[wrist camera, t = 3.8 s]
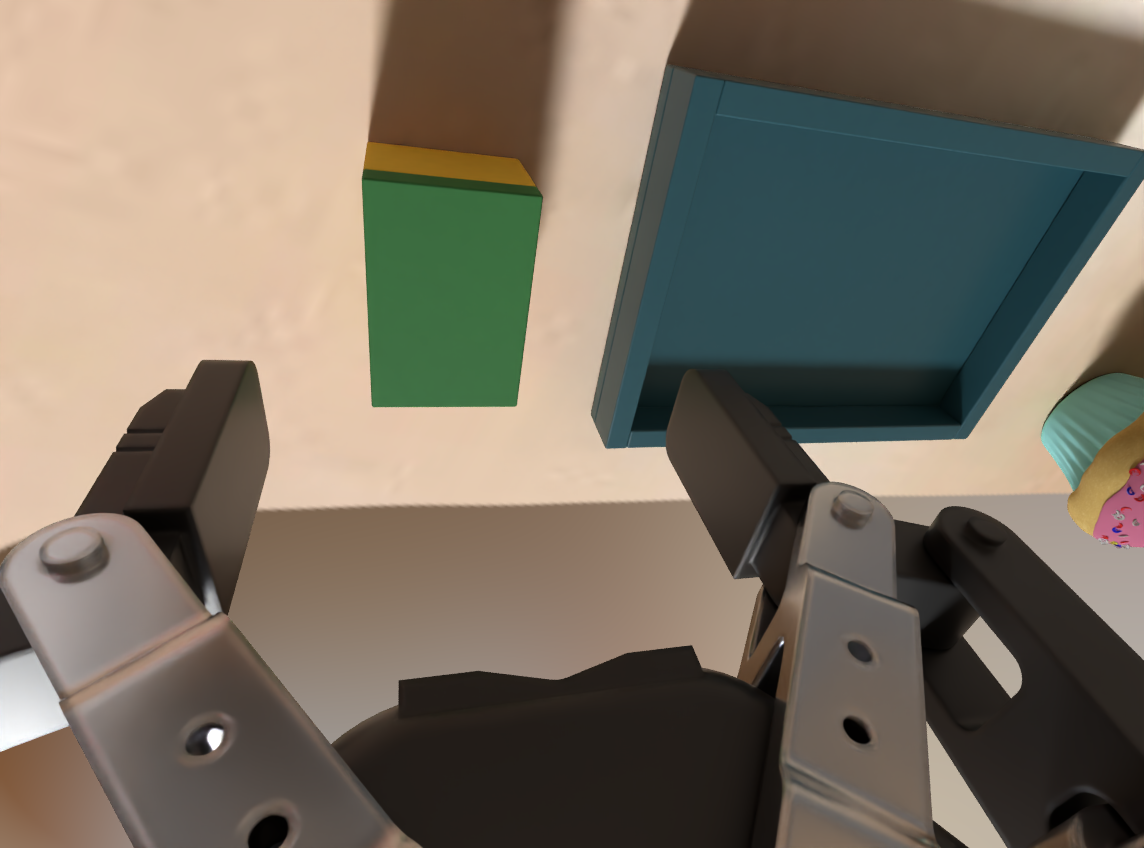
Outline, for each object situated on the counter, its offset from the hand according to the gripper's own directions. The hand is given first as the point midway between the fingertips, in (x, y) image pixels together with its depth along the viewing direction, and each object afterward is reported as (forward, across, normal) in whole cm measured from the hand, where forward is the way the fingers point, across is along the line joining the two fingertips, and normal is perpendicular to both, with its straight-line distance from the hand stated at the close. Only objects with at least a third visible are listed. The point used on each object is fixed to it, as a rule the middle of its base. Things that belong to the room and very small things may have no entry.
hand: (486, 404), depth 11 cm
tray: (+8, -14, 0) cm, 16 cm away
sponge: (+8, 0, 0) cm, 8 cm away
